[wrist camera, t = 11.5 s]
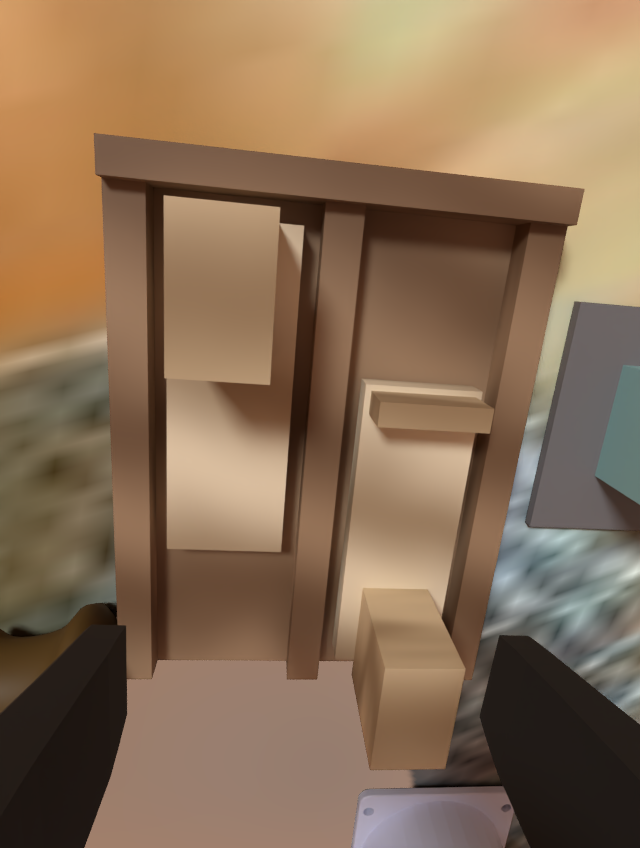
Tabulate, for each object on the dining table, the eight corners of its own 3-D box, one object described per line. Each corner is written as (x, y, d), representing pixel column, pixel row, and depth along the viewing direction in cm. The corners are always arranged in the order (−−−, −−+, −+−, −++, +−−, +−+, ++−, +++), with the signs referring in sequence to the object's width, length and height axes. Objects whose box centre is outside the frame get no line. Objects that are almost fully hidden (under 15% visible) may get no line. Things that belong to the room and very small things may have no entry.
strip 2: (424, 658, 21) (467, 768, 16) (330, 657, 21) (346, 770, 16) (472, 386, 18) (542, 427, 13) (361, 378, 17) (393, 418, 13)
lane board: (455, 645, 23) (476, 689, 20) (133, 642, 21) (115, 689, 19) (541, 200, 17) (584, 188, 15) (121, 154, 16) (94, 132, 13)
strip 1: (280, 539, 19) (282, 627, 14) (171, 535, 18) (137, 625, 14) (302, 227, 16) (314, 210, 11) (172, 215, 15) (127, 191, 11)
